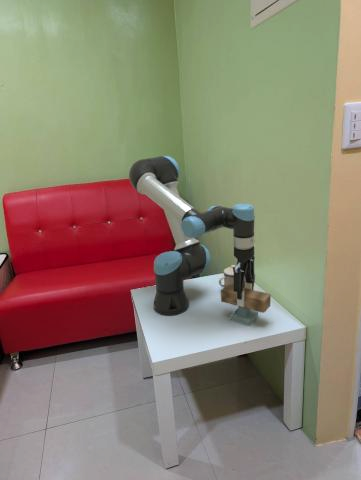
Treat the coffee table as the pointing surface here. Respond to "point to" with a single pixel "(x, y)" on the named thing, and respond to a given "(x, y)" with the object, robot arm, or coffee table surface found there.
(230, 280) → the teacup with lid
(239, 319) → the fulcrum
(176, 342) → the coffee table surface
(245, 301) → the batten
